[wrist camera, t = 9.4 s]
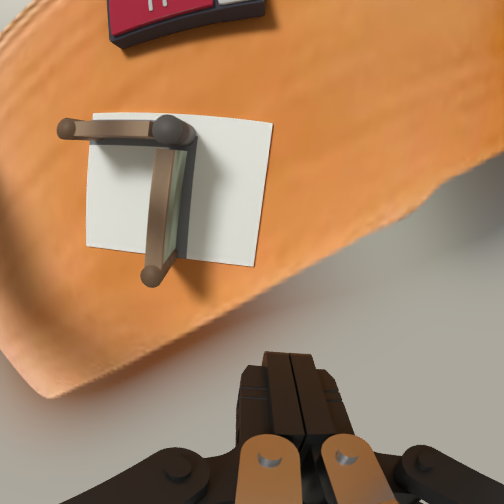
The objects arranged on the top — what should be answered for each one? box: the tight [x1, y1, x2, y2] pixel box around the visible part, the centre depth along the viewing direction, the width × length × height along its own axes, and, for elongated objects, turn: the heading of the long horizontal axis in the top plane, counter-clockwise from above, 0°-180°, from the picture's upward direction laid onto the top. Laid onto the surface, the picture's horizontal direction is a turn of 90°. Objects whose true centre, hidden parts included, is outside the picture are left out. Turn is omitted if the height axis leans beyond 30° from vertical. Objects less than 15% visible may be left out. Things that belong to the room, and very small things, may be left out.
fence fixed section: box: [57, 114, 196, 146], centre depth 24 cm, size 11×2×7 cm, turn 83°
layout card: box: [86, 113, 273, 267], centre depth 29 cm, size 18×14×1 cm
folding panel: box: [140, 148, 187, 288], centre depth 26 cm, size 11×2×6 cm, turn 171°
